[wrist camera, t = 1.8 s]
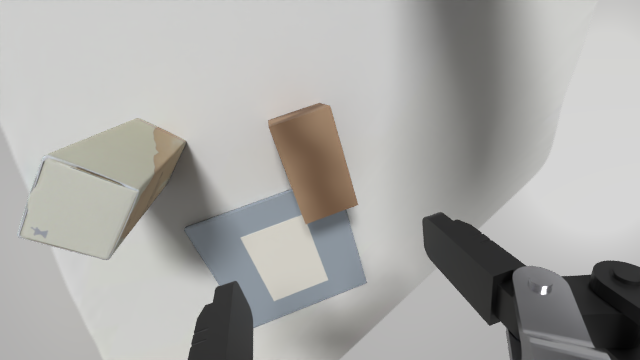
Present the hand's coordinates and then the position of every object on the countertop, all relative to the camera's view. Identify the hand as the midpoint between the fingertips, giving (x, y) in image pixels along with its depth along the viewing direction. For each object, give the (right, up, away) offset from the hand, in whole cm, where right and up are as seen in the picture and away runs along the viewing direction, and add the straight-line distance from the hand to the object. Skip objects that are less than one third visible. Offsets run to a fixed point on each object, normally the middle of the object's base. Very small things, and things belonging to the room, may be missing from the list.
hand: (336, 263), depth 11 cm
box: (-15, +6, +13) cm, 21 cm away
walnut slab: (-2, +6, +15) cm, 17 cm away
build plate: (-4, -5, +20) cm, 21 cm away
